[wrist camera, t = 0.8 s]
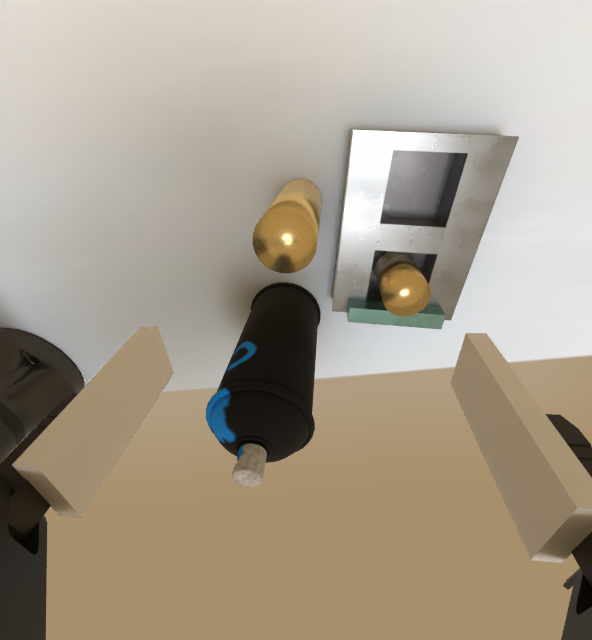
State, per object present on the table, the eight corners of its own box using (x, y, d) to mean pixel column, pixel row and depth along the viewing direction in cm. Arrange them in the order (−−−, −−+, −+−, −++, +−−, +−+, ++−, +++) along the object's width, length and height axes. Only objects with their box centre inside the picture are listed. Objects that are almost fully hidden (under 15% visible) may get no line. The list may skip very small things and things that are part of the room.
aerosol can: (329, 293, 34) (328, 458, 17) (309, 348, 38) (294, 522, 22) (257, 273, 33) (185, 424, 17) (246, 332, 38) (180, 496, 21)
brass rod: (279, 221, 30) (253, 271, 20) (279, 177, 28) (251, 208, 18) (319, 224, 30) (314, 275, 20) (323, 180, 28) (318, 212, 18)
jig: (332, 297, 34) (332, 329, 29) (351, 129, 25) (356, 130, 20) (441, 305, 33) (462, 339, 28) (499, 135, 25) (545, 138, 19)
